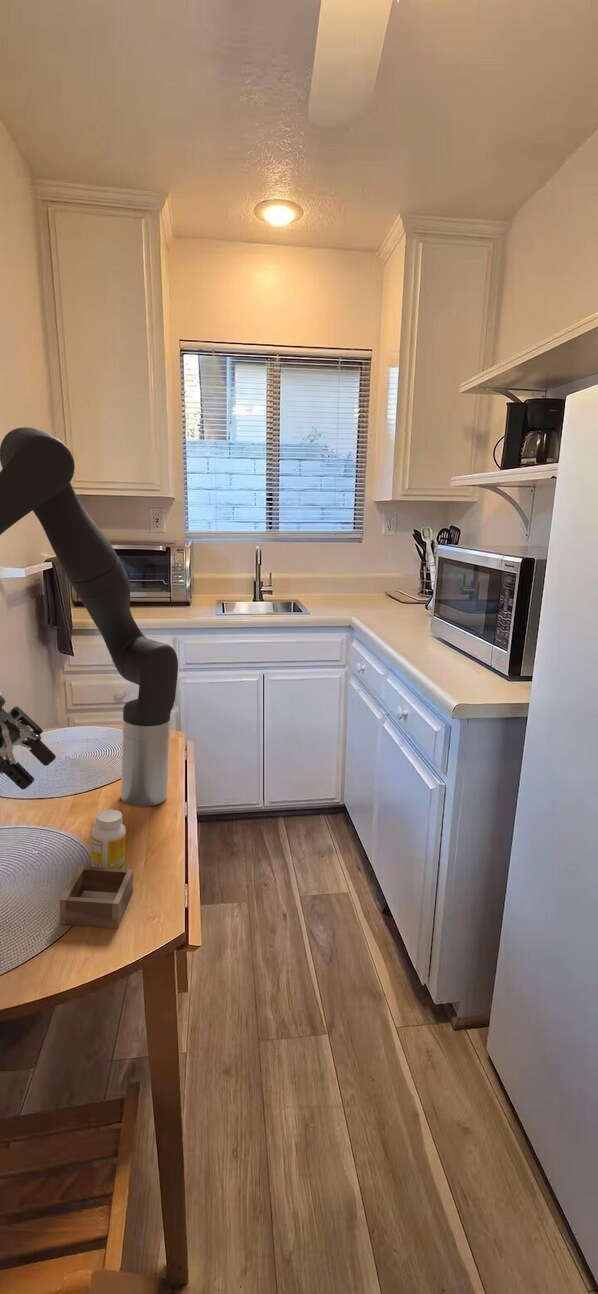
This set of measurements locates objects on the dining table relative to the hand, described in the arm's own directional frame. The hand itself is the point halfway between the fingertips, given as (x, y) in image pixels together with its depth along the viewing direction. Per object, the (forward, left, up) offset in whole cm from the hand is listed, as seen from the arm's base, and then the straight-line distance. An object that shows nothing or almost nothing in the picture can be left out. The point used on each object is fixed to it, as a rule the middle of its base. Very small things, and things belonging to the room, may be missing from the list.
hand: (40, 773), depth 91 cm
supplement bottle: (-3, +10, -18) cm, 20 cm away
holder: (+7, +11, -17) cm, 22 cm away
